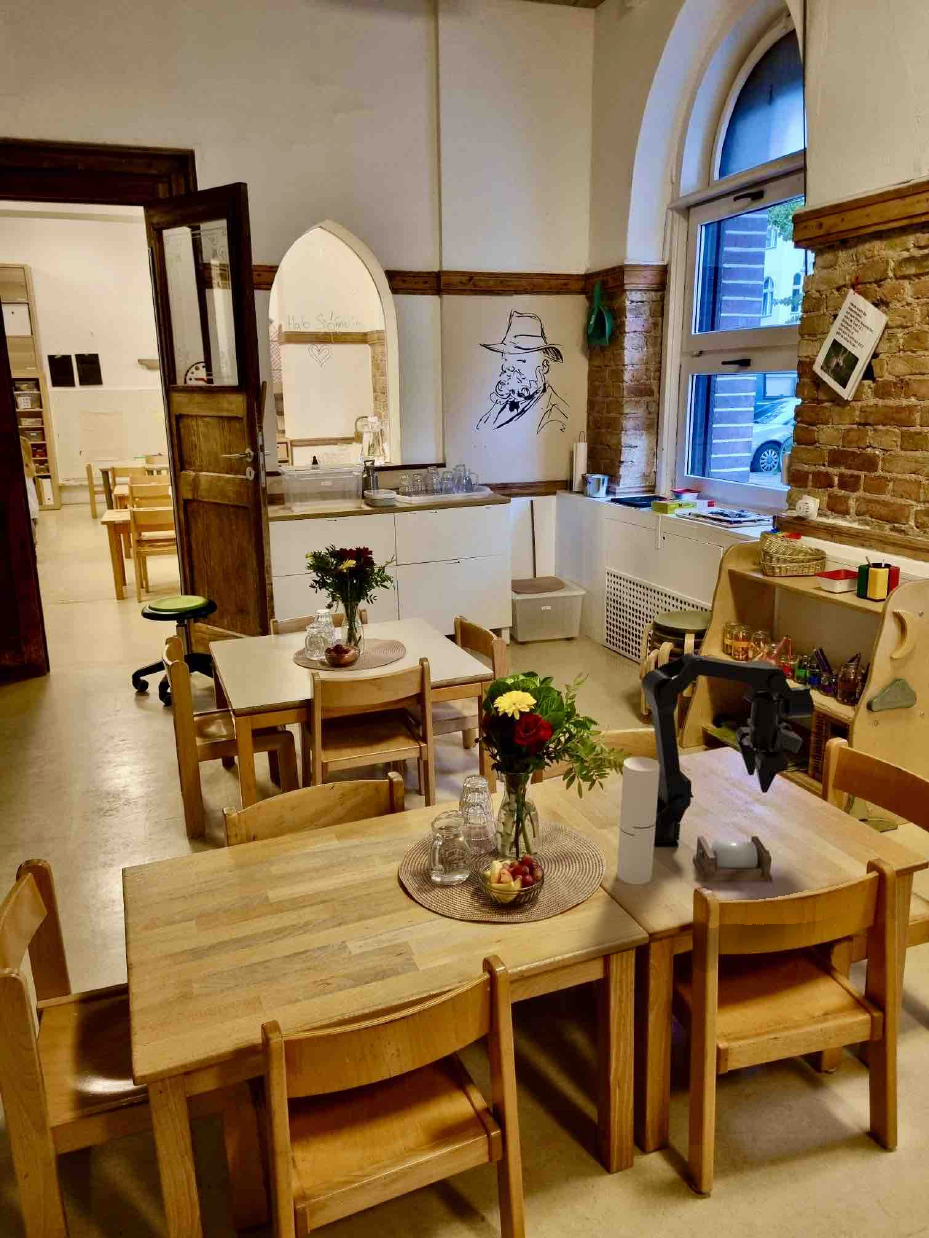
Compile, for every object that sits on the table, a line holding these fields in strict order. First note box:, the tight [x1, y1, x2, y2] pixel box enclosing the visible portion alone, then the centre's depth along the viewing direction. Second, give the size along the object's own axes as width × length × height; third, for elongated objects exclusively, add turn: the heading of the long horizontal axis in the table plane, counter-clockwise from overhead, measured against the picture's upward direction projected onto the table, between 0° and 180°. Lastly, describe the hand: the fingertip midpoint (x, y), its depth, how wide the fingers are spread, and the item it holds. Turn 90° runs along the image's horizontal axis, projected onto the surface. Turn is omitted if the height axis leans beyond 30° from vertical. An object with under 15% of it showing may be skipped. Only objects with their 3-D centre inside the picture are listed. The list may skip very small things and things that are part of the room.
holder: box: [692, 835, 773, 883], centre depth 192 cm, size 15×9×6 cm, turn 91°
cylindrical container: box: [616, 756, 660, 885], centre depth 187 cm, size 7×7×25 cm
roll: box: [710, 841, 757, 869], centre depth 192 cm, size 9×6×6 cm, turn 91°
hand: (757, 783), depth 207 cm, fingers open, 9 cm apart
